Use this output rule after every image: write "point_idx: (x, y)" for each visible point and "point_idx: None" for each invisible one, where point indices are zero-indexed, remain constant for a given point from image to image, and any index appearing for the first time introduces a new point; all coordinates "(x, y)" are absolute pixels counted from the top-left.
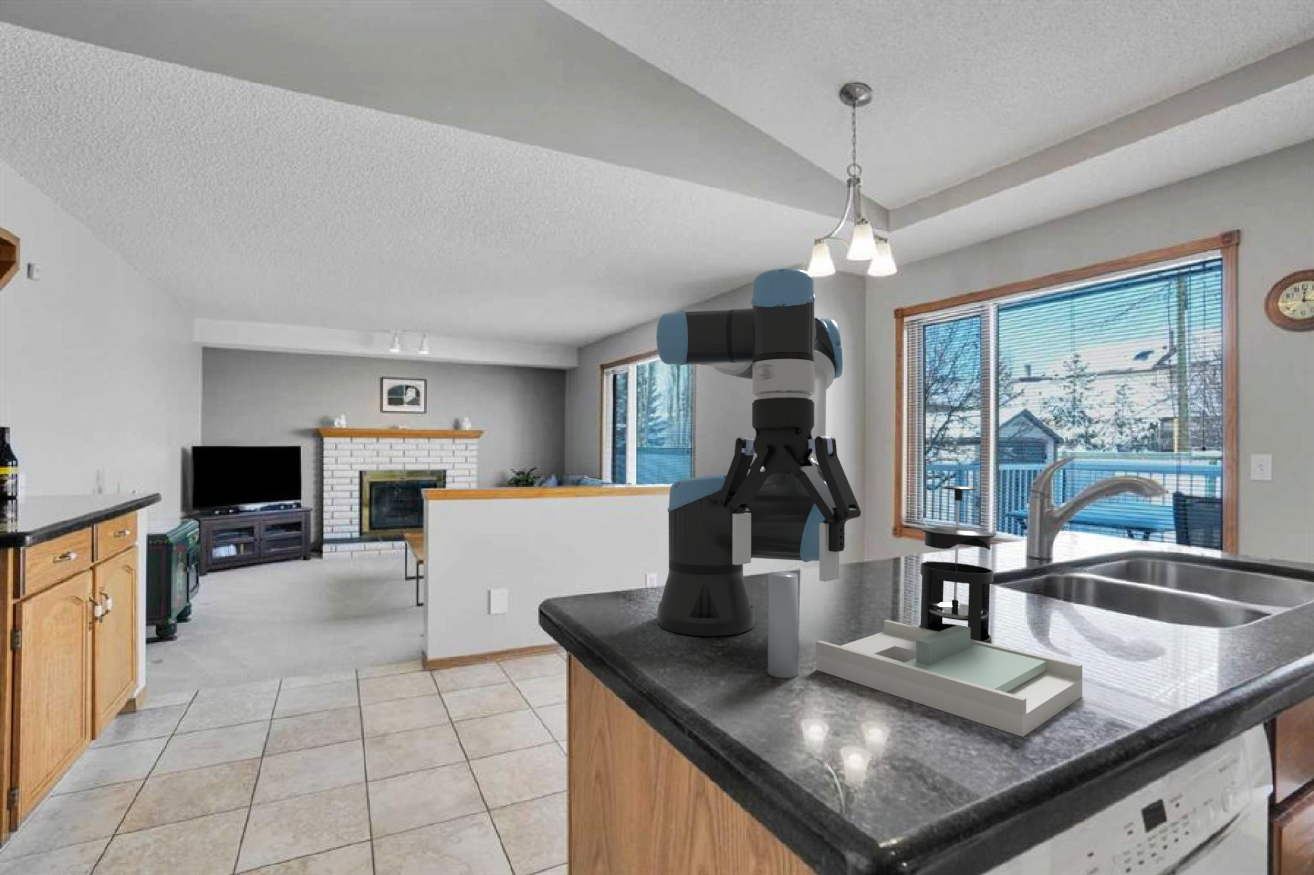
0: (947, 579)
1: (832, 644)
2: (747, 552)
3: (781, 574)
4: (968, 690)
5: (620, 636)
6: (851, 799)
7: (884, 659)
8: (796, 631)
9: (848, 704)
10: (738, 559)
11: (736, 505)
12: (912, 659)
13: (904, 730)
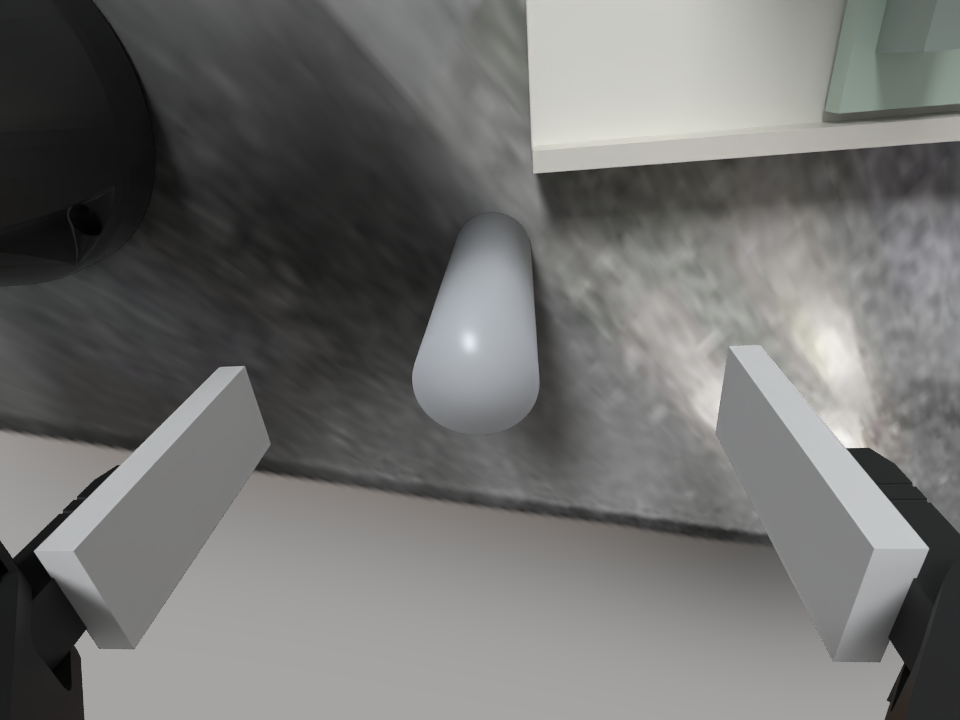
0: None
1: (586, 153)
2: (227, 414)
3: (469, 386)
4: None
5: (74, 385)
6: None
7: (786, 139)
8: (531, 280)
9: (722, 279)
10: (258, 449)
11: (79, 703)
12: (855, 37)
13: (877, 296)
